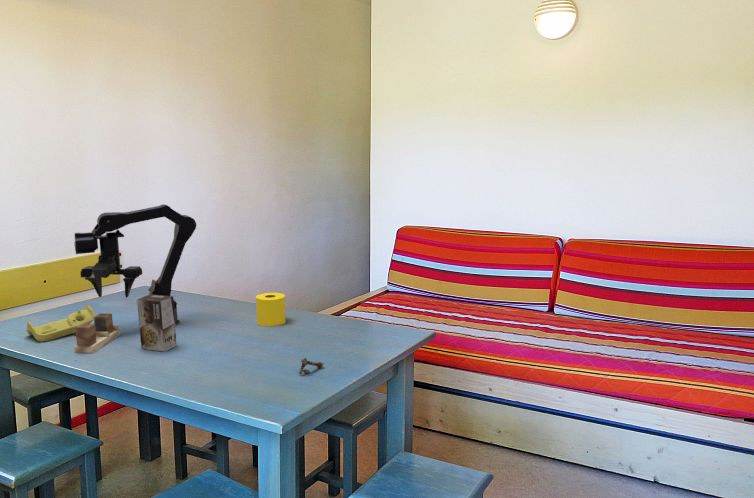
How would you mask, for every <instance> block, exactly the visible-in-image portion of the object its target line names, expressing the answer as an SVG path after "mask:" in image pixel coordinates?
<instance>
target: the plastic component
mask: <svg viewBox="0 0 754 498" xmlns="http://www.w3.org/2000/svg"><path fill="white" fill-rule="evenodd" d="M95 316H96V313H95V311H94V310H93V308H92V307H91V306H90V305H85V306H84V307H83V308H81V310H76V311H75V312H72V313H70V314H69V315H68V316H67V317H65V318H62V319H58V320H55V321H52V322H48V323H45V324H41V325H38V326H34V325H33V323H32V322H31V321H28V322H26V323H27V324H26V333H27V335H30V336H33V337H34V338H35V340H36V341H37V342H39V343H40V342H42V343H43V342H47V341H53V340H56V339H58V338H59V339H60V338H63V337H65V336H68V335H72V334H76V329H75V327H77V326H79V325H81V324H92V322H93V321H94V317H95Z"/></svg>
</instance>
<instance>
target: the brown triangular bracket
mask: <svg viewBox="0 0 754 498" xmlns="http://www.w3.org/2000/svg"><path fill="white" fill-rule="evenodd" d="M300 363H301V366H300V368H299V372H298V374H299V375H303V373H304V374H309V373H310V370H309V369H306V368H305V367H306V366H307V365H308V366H313V367H316V368H317V369H320V370H322V369H323V367H324V362H321V361H318V362H315V361H311V360H307V358H305V357H304V358H301V359H300Z"/></svg>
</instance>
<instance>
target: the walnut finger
mask: <svg viewBox="0 0 754 498" xmlns="http://www.w3.org/2000/svg"><path fill="white" fill-rule="evenodd" d="M93 321H94V323H93V324H95V332H109V334H110V333H112V332H113V325H114V322H113V321H114V320H113V313H98V314H97V315H95V317H94V319H93Z"/></svg>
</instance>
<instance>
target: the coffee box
mask: <svg viewBox="0 0 754 498" xmlns="http://www.w3.org/2000/svg"><path fill="white" fill-rule="evenodd" d="M173 299H174V296H173V295H172V296H171V295H170V296H163V295H149V294H147V295H144V296H143V297H141V298H137V299H136V304H137V316H138V324H139V325H138V326H139V327H138V328H139V338H140V349H141V350H149V351H156V352H157V351H158V352H167V351H168V350H171V349H173V348H175V347H177V346H178V344H177V331H176V324H175V316H174V302H173Z"/></svg>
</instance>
